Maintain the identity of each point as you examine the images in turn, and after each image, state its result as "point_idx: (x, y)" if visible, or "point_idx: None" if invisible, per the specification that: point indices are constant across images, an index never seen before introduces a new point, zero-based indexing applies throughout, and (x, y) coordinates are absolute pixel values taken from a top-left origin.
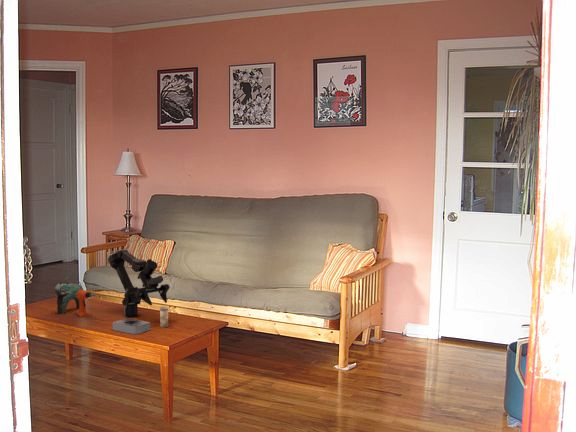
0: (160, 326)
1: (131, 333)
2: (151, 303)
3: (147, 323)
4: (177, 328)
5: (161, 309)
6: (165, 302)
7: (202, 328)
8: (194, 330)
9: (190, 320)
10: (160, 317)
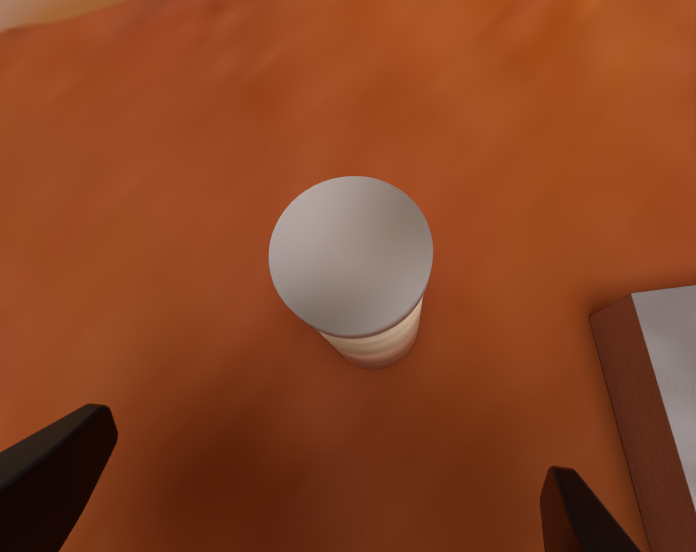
0: (414, 341)
1: None
2: (573, 485)
3: (687, 286)
4: (337, 165)
5: (429, 244)
6: (111, 444)
7: (200, 25)
8: (288, 22)
9: (28, 305)
10: (419, 316)
